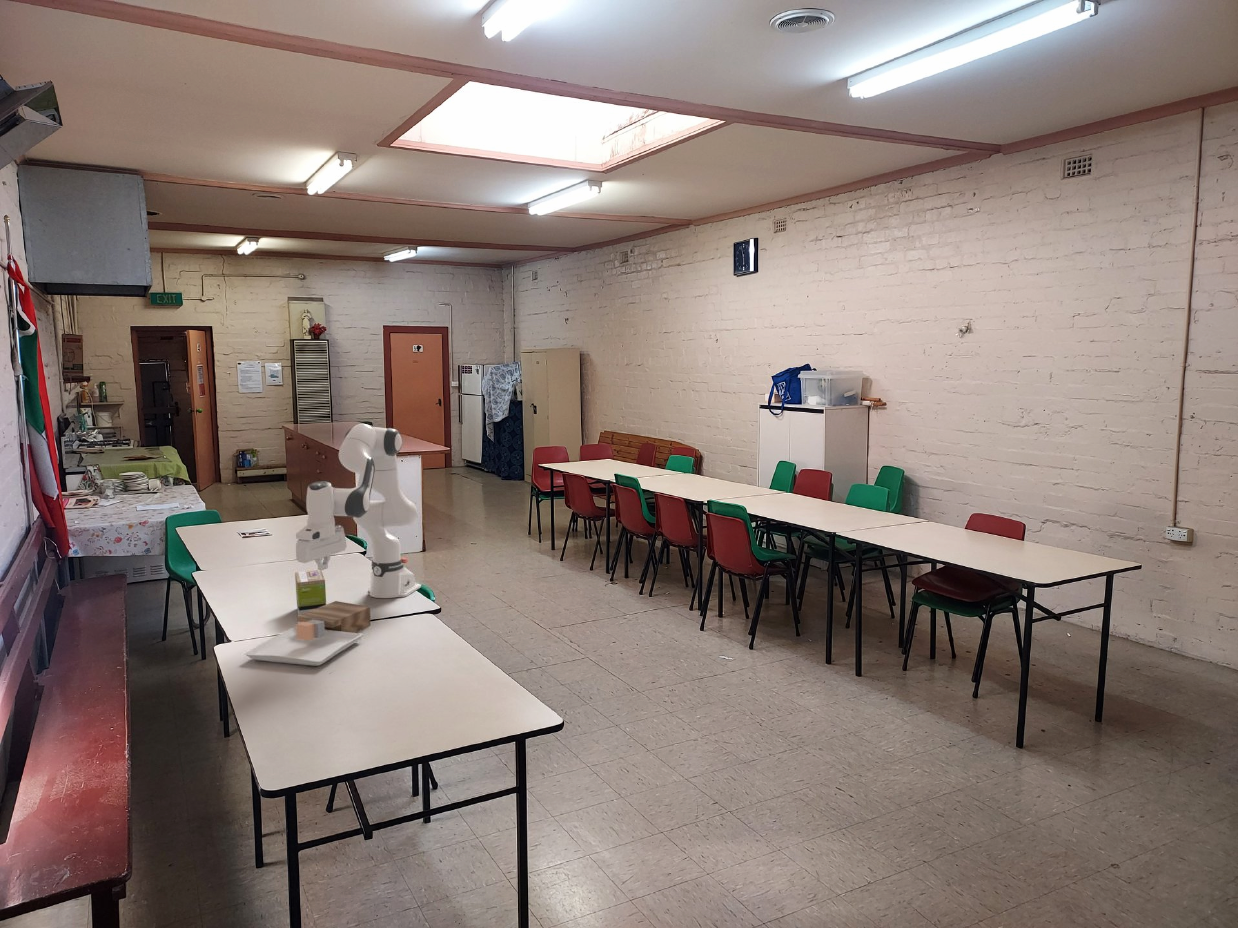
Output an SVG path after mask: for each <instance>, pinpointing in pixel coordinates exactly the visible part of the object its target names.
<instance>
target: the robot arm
mask: <svg viewBox="0 0 1238 928" xmlns="http://www.w3.org/2000/svg"><path fill="white" fill-rule="evenodd" d="M402 446H403V438H402V434H401V433H400V431H399V430H397V429H395V428H391V427H388V428H385V427H378V426H373V427H372V426H371V425H369V424H367V423H366V424H365V423H359V424H356V425H354V426H353V427H352V428H350V429H348V430H347V432H346V433H345V435H344V439H343V442H342V444H341V445H340V447H339V451H338V459H339V462H340V464H341V465H342V466H343V467H344V468H345V469H346V470H348V471H350V472H352V473H355V474H358V475H359V477H358V481H357V486H356V487H353V488H342V487H341V488H339V487H333V486H332V483H331V482H329V481H325V480H324V481H323V480H321V481H315V482H311V484H309V485H308V486H307V489H306V490H307V491H306V499H305V500H306V503H305V504H306V512H307V519H306V523H307V525H305V526H304V527H302V528H301V529H300V530H299V531H297V532H296V534H295V539H297V541H296V544H295V558H296V561H298V563H302V564H306V563H310V562H313V561H314V562H315V563H316V565H317V570H321V571H323V570H327V569H328V568H329V562H330V561H331V555H334V554H338V553H341V552H345V551H346V549H347V539H346V533H345V530H344V529H345V528H344V527H343V526H342V525H340V524H337V525H336V521H335V520H336V519H335V517H334V516H336V517H350V518H352V519H353V521H354V522H355V524H356V525H357V526H358V527H359V528H361V529H362V530H364V532H365V533H366V535H367V536H368V538H369V541H370V544H371V551H372V553H371V554H372V560H371V570H372V571H371V573H370V586H369V588H368V592H369V597H372V598H375V599H377V598H378V599H392V598H400V597H401V598H405V597H407V596H409V595H411V594H412V593H414V592H416V591H417V590H419V589H420V588H422V584H421V583H419V582H416V579H415V577H416V576H415V575H414V573H413V572H411V571H410V570H409V569H407V568H406V567H405V565H404V564H407V563H408V558H404V557H402V558H401V542H400V539H398V538H397V536H394V535H392V534H391V533H389V532H388V531H387V529H386V528H405V527H406V528H407V527H410V526H414V524H415V523H416V522H417V519H418V515H419V513H418V511H419V510H418V508H417V506H416V504H414V502H412V501H411V500H410V499H408V498H407V497H406V496H405V494H404V492H403V491H402V489H401V487H400V482H399V473H398V458H397V454H398V453H399V452H400V451H401V450H402ZM372 491H374V492H375V493H377V494H378V495H381V496H382V497H383V498H384V500H371V493H372Z"/></svg>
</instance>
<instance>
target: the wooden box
mask: <svg viewBox="0 0 1238 928" xmlns="http://www.w3.org/2000/svg"><path fill="white" fill-rule="evenodd" d="M296 619H297V620H296V621H297V622H298V623H300V622H308V621H310V620H312V619H313V620H319V621H324V628H325V630H333V631H342V632H350V633H356V632H359V631H361V630H363V629H365V628H368V627H371V606H366V605H361V604H360V605H359V604H355V603H349V602H343V601H339V600H338V601H337V600H334V601H332V602H330V603H326V605H324V606H322V607H319V608H316V609H314V610H311V611H308V612H306V613H303V614H301V615H296Z"/></svg>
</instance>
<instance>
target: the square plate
mask: <svg viewBox="0 0 1238 928" xmlns="http://www.w3.org/2000/svg"><path fill="white" fill-rule="evenodd" d="M363 636H364V635H363V633H356V632H355V633H350V632H342V631H333V630H325V636H323V637H321V638H313V639H311V640H309V641H308V640H302V639H297V632H296V627H291V628H289V629H287V630H285V631H283V632H281V633H278V635H275V636H273V637H271V638H270V639H268V640H266V641H265V642H262V643H261V644H260V645H257V646H256V647H253V648H252V649H250V650H249V651H247V652H245V653H244V655H245V656H246V657H248V658H250V659H252V660H255V661H263V662H268V663H269V662H270V663H281V664H290V665H291V664H292V665H300V666H301V665H302V666H312V667H313V666H314V667H315V666H321V665H323V664H325V663H326V662H328V661H329V660H331V659H332V658H333V657H335V656H336V655H338V654H339V653H341V652H343V651H345V650H346V649H349V647H350V646H351V647H352V646H353V645H354V644H356V643H357V642H358V641H359V640H361V638H362V637H363Z"/></svg>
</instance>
